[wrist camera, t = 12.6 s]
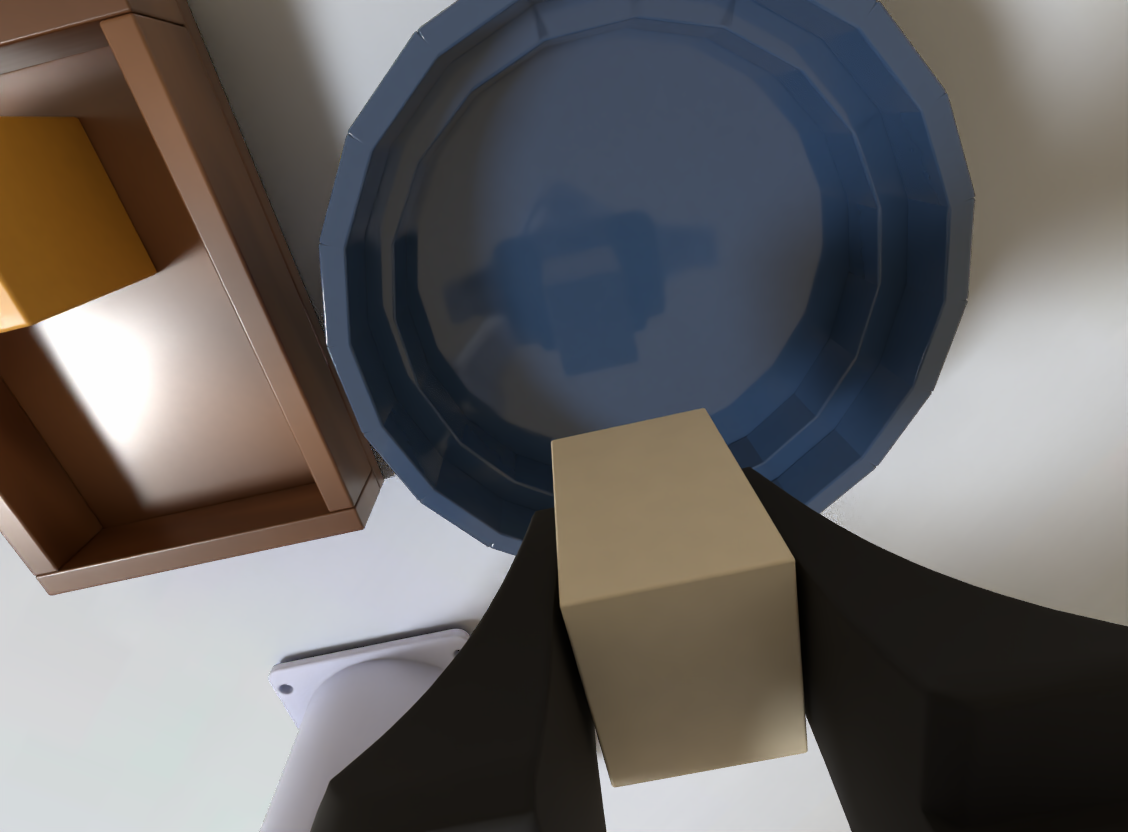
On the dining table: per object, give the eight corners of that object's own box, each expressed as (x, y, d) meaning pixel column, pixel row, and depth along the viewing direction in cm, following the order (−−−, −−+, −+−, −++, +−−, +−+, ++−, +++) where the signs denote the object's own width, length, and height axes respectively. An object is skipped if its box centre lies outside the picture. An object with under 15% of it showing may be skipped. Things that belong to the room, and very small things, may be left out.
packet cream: (724, 560, 14) (809, 754, 10) (588, 587, 14) (612, 789, 10) (705, 406, 12) (796, 558, 8) (550, 439, 13) (558, 606, 8)
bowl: (882, 448, 21) (954, 515, 18) (453, 537, 22) (438, 620, 18) (886, -102, 15) (1003, -175, 11) (275, 57, 15) (197, 38, 12)
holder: (385, 480, 21) (364, 529, 18) (106, 540, 21) (49, 596, 19) (183, -10, 15) (111, -36, 12) (-199, 93, 15) (-343, 88, 13)
